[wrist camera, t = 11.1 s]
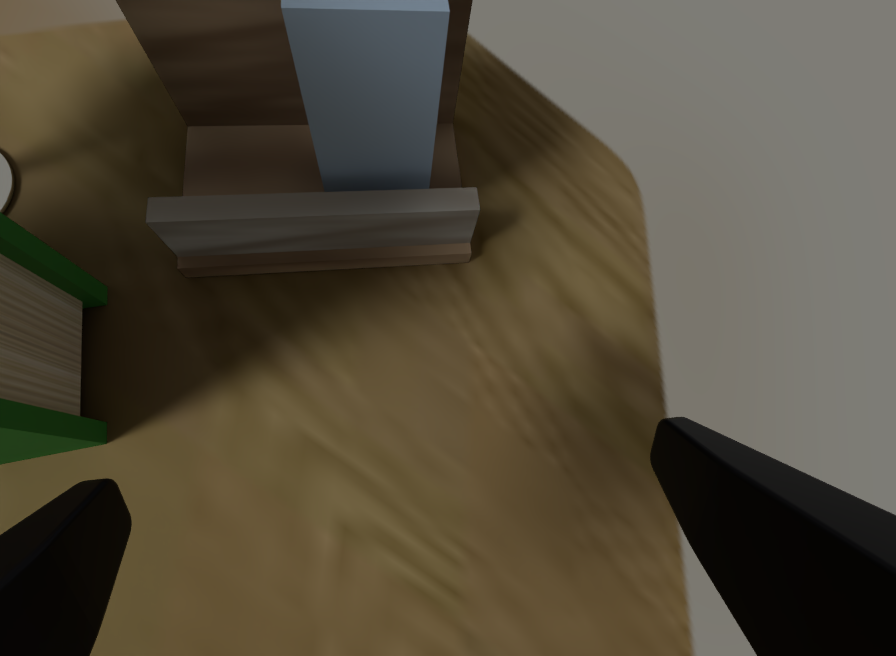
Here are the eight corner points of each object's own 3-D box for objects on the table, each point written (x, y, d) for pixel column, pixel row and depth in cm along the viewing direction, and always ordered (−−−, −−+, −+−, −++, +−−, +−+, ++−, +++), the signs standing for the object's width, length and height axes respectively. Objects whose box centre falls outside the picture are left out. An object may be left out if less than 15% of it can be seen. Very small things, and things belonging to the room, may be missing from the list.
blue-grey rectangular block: (427, 206, 24) (449, 11, 14) (329, 210, 23) (281, 7, 14) (418, 128, 26) (432, -96, 16) (325, 130, 25) (281, -104, 15)
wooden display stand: (468, 262, 24) (543, 37, 12) (186, 277, 22) (-63, 27, 10) (447, 114, 27) (490, -185, 15) (197, 116, 26) (16, -225, 13)
